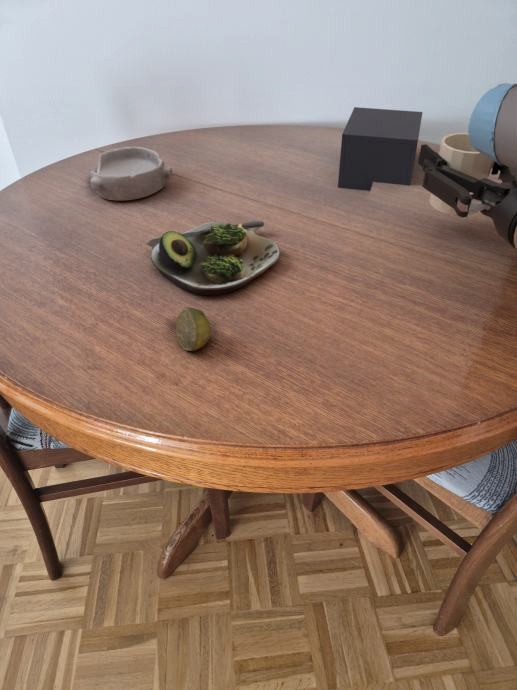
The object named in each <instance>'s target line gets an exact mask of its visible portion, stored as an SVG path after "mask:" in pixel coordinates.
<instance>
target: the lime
mask: <svg viewBox="0 0 517 690" xmlns="http://www.w3.org/2000/svg"><path fill="white" fill-rule="evenodd" d="M175 329H176V330H175V331H176V337H177V341H178V343H179V345H180V346H181V347H182V349H183V350H185V351H189V352H193V351H197V350H199V349H201V348H202V347H204V346H205V345H206V344H207V343H208V342H209V340H210V338H211V334H212V331H211V330H212V329H211V325H210V322H209V319H208V318H207V316H206V314H205V313H204V312H203V311H202V310H200V309H197V308H194V307H185V308H183V309H182V310H181V311H180V313H179V314H178V316H177V318H176V328H175Z"/></svg>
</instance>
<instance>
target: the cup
mask: <svg viewBox="0 0 517 690" xmlns="http://www.w3.org/2000/svg"><path fill="white" fill-rule="evenodd" d="M437 154H438V155H440V156H441V157H442V158H443V159H445V160H446V161H447V166H448V167H450V168H452V169H455V170H457V171H460V172H462V173H465V174H467V175H469V176H472V177H474V178H477V179H479V180H480V179H483V178H487V179H489V180H491V176H492V174H491V173H492V169H493V165H494V162H495V161H494V160H492V159H490V158H488V157H486V156H485V155H483V154H481V153H480V152H478V151H477V150H475V149H474V147H473V146H472V145H471V143H470V140H469V134H468V132H454V133H453V132H452V133H449V134H446V135H444V136H443V137H442V138H441V140H440V144H439V149H438V153H437ZM485 188H486V187H485ZM429 204H430V207H432V208H433V209H435V210H436V211H438V212H440V213H443V214H445V215H446V214H447V215H452V216H458V215H457V213H456V212H455V210H454V209H453V208H452V207H450V206H449V205H448V204H446V203H445V202H443V201H442V200H440V199H439V198H438V197H436V196H435V195H433V194H432V193H430V195H429ZM479 212H480V211H469V212H468V216H471V215H474V214H477V213H479Z"/></svg>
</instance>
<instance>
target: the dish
mask: <svg viewBox="0 0 517 690" xmlns="http://www.w3.org/2000/svg"><path fill="white" fill-rule="evenodd" d="M96 168H97V169H96V172H95V170H94V169H91V171H90V172H89V173H90V174H89V176H90V179H89V181H90V187H91V188H92V189H93V191H95V193H96V194H97V195H98V197H100V198H102V199H105V200H110V201H119V202H120V201H122V202H123V201H132V200H138V199H142V198H146V197H148V196H151V195H153V194H155V193H157V192H158V191H160V190H161V189H163V188H164V187H165V185H166V182H167V181H166V180H170V179H171V178H172V176H173V168H172V166H171V165H168V166H166V165H165V162H164V161H163V158H162V156H161V155H160V153H158V152H156V151H155V150H153V149H150V148H146V147H143V146H125V147H119V148H113V149H110V150H108V151H105V152H102V153H100V154H99V156H98V160H97V167H96Z"/></svg>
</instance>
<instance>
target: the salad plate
mask: <svg viewBox="0 0 517 690" xmlns="http://www.w3.org/2000/svg"><path fill="white" fill-rule="evenodd" d="M264 225H265V223H264V222H263V221H262V220H253V221H250V222H238V223H236V224H235V223H231V222H225V221H224V222H220V221H214V222H213V221H210V222H205V223H202V224H200V225H197V226H195V227H193V228H190V229H188V230H187V231H185V232H182V233H180V232H178V231H173V230H170V231H169V230H168V231H165V232H164V233H163V234H162V235H161V237H157V238H156V237H155V238H153V239H149V241H147V243H145V245H146V246H148V247H151V249H152V251H151V254H150V260H151V263H152V265H153V266H154V267H155V269H156V270H157V271H158V272H159V273H160V275H162V276H163V277H164V278H165V279H166V280H167V281H169V282H171V284H173V285H174V286H176V287H177V286H178V287H177V288H179V287H180V288H179V289H181V290H183V291H185V292H187V293H190V294H194V293H195V294H194V295H199V296H205V297H214V296H220V295H224V294H227V293H230V292H233V291H234V290H238V289H240V288H242V287H244V286H246V285H247V284H248V283H249V282H250V281H252V280H253V279H255V278H257V277H258V276H260V275H262V274H263V273H264V272H266V271H267V270H268V269H269V268H270V267H271V266H273V265H275V264H276V263H277V261H278V260H279V258H280V256H281V253H280V247H279V245H277V243H275V242H274V241H272V240H270V239H268V238H266V237H263V236H261V235H258V234H257V233H256V231H257V230H260V229H261V228H263V227H264Z"/></svg>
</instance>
